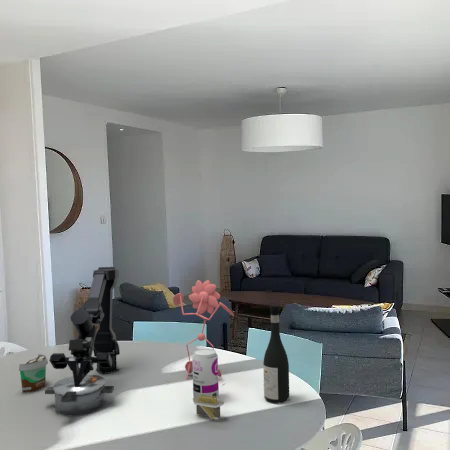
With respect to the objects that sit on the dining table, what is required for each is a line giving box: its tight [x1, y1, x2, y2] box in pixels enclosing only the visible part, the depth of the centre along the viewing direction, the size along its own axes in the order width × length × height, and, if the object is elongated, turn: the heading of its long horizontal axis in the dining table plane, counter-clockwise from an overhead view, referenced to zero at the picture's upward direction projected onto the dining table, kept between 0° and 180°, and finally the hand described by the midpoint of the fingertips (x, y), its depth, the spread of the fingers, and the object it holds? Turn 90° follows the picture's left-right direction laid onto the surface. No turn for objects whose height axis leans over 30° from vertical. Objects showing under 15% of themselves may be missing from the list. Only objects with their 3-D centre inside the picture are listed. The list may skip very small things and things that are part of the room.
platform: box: [192, 394, 225, 420], centre depth 147 cm, size 12×18×7 cm, turn 64°
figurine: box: [172, 279, 235, 386], centre depth 183 cm, size 15×26×35 cm, turn 62°
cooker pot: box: [44, 385, 115, 417], centre depth 158 cm, size 15×21×6 cm
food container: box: [18, 353, 49, 393], centre depth 175 cm, size 12×6×10 cm, turn 168°
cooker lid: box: [52, 374, 106, 402], centre depth 156 cm, size 20×16×2 cm
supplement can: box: [191, 348, 220, 399], centre depth 162 cm, size 8×8×15 cm
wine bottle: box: [262, 304, 290, 404], centre depth 159 cm, size 8×8×30 cm
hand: (76, 386), depth 155 cm, fingers closed
